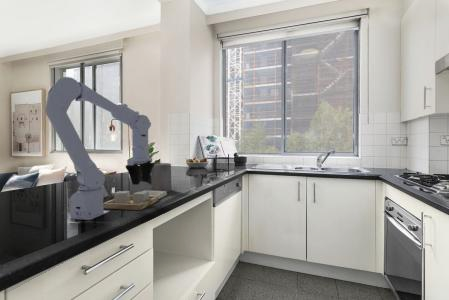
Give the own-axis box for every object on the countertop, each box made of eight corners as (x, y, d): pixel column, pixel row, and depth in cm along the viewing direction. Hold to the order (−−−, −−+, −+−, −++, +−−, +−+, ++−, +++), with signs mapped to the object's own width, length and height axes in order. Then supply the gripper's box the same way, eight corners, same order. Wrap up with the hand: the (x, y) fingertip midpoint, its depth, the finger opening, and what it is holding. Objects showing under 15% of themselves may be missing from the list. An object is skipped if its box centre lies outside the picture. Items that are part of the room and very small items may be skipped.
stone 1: (126, 204, 91) (126, 193, 90) (114, 205, 90) (114, 193, 90) (130, 202, 94) (129, 191, 94) (118, 202, 94) (118, 191, 94)
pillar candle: (155, 189, 124) (154, 160, 124) (173, 189, 124) (173, 160, 124) (148, 193, 115) (147, 162, 114) (168, 193, 114) (167, 162, 114)
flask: (86, 198, 104) (85, 175, 104) (101, 195, 110) (101, 173, 110) (96, 200, 101) (96, 176, 100) (111, 197, 107) (111, 174, 107)
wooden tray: (140, 211, 83) (140, 205, 83) (101, 209, 86) (101, 203, 86) (158, 201, 97) (158, 196, 97) (124, 200, 100) (124, 195, 100)
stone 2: (144, 206, 88) (143, 194, 88) (133, 205, 89) (132, 193, 89) (149, 203, 92) (149, 191, 92) (138, 203, 93) (138, 191, 93)
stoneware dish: (155, 201, 98) (155, 196, 97) (132, 200, 99) (132, 195, 99) (166, 195, 108) (166, 191, 108) (145, 195, 110) (145, 190, 110)
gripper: (140, 147, 82) (140, 186, 83) (158, 146, 97) (159, 180, 97) (121, 147, 84) (122, 185, 84) (142, 146, 98) (143, 179, 98)
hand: (141, 182), depth 91 cm, fingers open, 7 cm apart
